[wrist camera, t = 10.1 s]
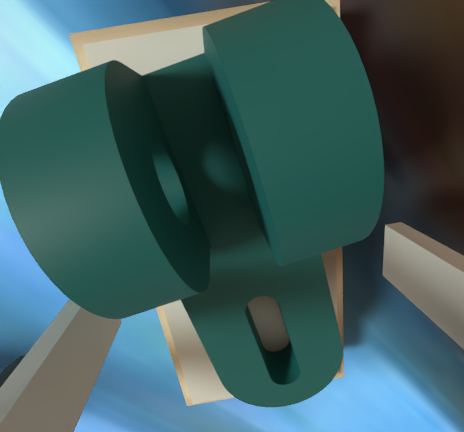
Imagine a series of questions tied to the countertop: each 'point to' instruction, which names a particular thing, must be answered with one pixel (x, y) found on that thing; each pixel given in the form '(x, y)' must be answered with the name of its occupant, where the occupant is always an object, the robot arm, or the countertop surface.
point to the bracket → (208, 188)
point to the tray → (174, 314)
